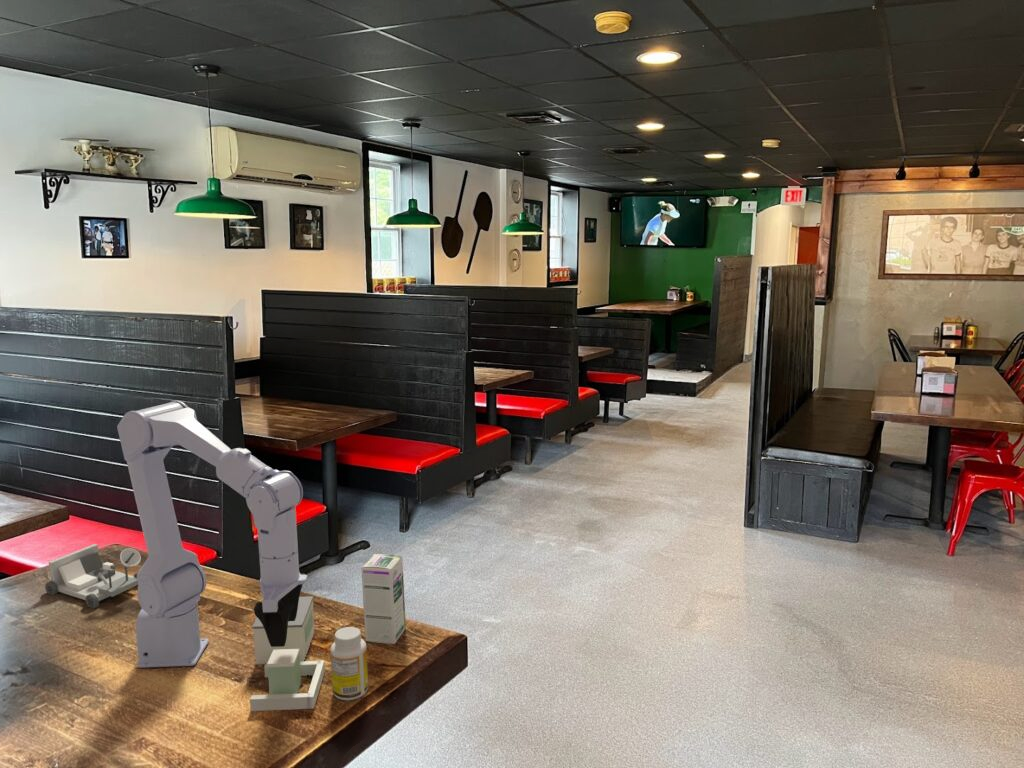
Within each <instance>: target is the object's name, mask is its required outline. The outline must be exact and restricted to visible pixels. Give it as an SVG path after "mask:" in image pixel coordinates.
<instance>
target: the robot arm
mask: <svg viewBox="0 0 1024 768" xmlns="http://www.w3.org/2000/svg"><path fill="white" fill-rule="evenodd" d="M196 414H197V413H196V411H195V409H193V408H191V407H189V406H188V405H187V404H186V403H185V402H183V401H182V400H176V399H175V400H172V401H169V402H167V403H163V404H160V405H155V406H151V407H146V408H141V409H138V410H130V411H127V412H126V413H125V414H124V415H123V416H122V418H121V420H120V421H119V423H118V424H117V426H116V427H117V432H118V433H117V434H118V436H119V443H120V444H121V445H120V446H121V450H122V454H123V458H124V461H126V464H127V470H128V473H129V477H130V482H131V487H132V491H133V495H134V499H135V503H136V508H137V511H138V512H137V513H138V517H139V519H140V520H139V521H140V525H141V529H142V534H143V537H144V541H145V547H146V552H147V555H148V557H147V558H146V560H145V561H144V563H142V566H141V567H140V569H139V570H138V572H136V573H137V579H138V585H137V593H136V594H137V600H138V603H139V606H140V607H141V609H140V611H139V612H138V615H137V617H136V621H135V639H136V647H137V656H138V657H137V658H138V663H136V664H137V666H136V667H137V668H140V669H141V668H163V667H164V668H169V667H170V668H171V667H191V666H196V664H197V662H198V661H199V659H200V657H201V656H202V654H203V652H204V651H205V649H206V647H207V646H208V644H209V642H210V639H208V638H201V633H200V632H201V631H200V621H199V620H200V619H199V618H200V617H199V609H198V602H199V601H201V594H202V593H203V592H205V590H206V587H207V577H206V573H205V571H204V569H203V568H202V566H201V564H200V562H199V559H198V554H196V553H195V552H193V551H191V550H188V549H185V548H184V547H183V546H184V545H183V541H182V538H181V537H182V536H181V533H180V530H179V525H178V520H177V516H176V512H175V507H174V503H173V498H172V495H171V494H172V493H171V489H170V485H169V480H168V477H167V476H168V475H167V473H166V468H165V464H164V459H165V457H167V455H168V454H169V452H170V451H171V449H172V448H173V447H175V446H181V447H182V448H184V449H186V450H187V451H188V452H191V453H192V454H193V455H196V456H197V457H199V458H200V459H202V460H203V461H205V462H207V463H209V464H210V465H212V466H213V467H215V473H216V477H217V478H218V479H219V480H220V481H222V482H223V483H224V484H225V485H227V486H228V487H230V488H231V489H232V490H234V491H235V492H237V493H238V494H239V495H240V496H241V497H243V498H245V501H246V505H247V508H248V509H249V511H250V513H251V514H252V517H253V524H254V525H255V528H256V530H257V542H258V557H259V569H260V570H259V571H260V572H259V573H260V579H259V587H260V591H261V595H262V601H261V602H256V603H255V605H254V607H253V613H254V615H255V616H256V618H257V617H258V619H259V620H260V621H261V623H262V625H263V627H264V629H265V632H266V635H267V638H268V641H269V643H270V646H271V647H281V646H285V643H286V638H287V629H288V621H295V619H296V615H297V610H298V603H299V597H301V596H300V595H301V591H302V589H303V585H305V584H306V583H307V581H308V575H307V574H306V573H304V572H300V566H299V565H300V564H299V546H298V530H297V529H298V528H297V511H296V510H297V509H296V507H297V506H298V505H299V504H301V502H302V500H303V496H304V489H303V485H302V483H301V481H300V480H299V478H298V477H297V476H296V475H295V474H294V473H293V472H292V471H290V470H285V469H284V470H278V469H276V468H275V469H273V468H272V467H270V466H269V465H267V464H265V463H264V462H262V461H261V460H260V459H258V458H257V457H256V456H254V455H252V451H250V450H249V449H248V448H242V447H237V448H236V447H235V448H232V449H231V447H229V446H228V445H227V444H225V443H224V442H223V441H222V440H221V439H219V438H218V437H217V436H216V435H215V434H213V433H212V432H211V431H210V430H209V429H208V428H206V426H204V425H203V424H202V423H200V422H199V420H198V417H197V415H196Z"/></svg>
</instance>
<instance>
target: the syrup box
mask: <svg viewBox="0 0 1024 768" xmlns="http://www.w3.org/2000/svg"><path fill="white" fill-rule="evenodd" d="M403 561H404V560H403V556H401V555H395V554H388V553H385V554H384V553H374V554H372V556H371V557H370V558H369V559H368V560H367V561H365V563H364V564H363V565H362V566H361V568H360V569H361V584H362V601H363V602H362V604H363V617H364V618H363V619H364V634H365V642H371V643H376V644H377V643H378V644H386V645H387V644H388V645H396V643H397V641H398V639H399V638H401V636H402V634H403V633H404V632H405V629H406V628H407V627H406V608H405V607H406V606H405V605H406V604H405V602H406V601H405V584H404V583H405V582H404V564H403Z"/></svg>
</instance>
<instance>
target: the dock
mask: <svg viewBox="0 0 1024 768" xmlns="http://www.w3.org/2000/svg"><path fill="white" fill-rule="evenodd" d="M263 668H264V678H268V667H267V663H266V664H264V666H263ZM300 673H301V677H303V676H304V677H305V676H306V677H308V676H307V675H309V677H311V676H312V679H311V682H310V685H309V689H308V691H307V692H306V693H305V692H304V693H299V692H298V693H297V694H276V695H270V694H256V695H255V694H254V695H250V698H249V706H250V711H251V712H262V711H263V712H264V711H265V712H267V711H268V712H269V711H286V710H287V711H288V710H289V711H290V710H306V709H307V710H309V709H312V710H313V709H315V706H316V703H317V699H318V696H319V692H320V689H321V686H322V683H323V679H324V676H325V673H326V667H325V660H310V661H309V660H305V661H302V662H300ZM310 675H311V676H310Z"/></svg>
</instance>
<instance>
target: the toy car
mask: <svg viewBox="0 0 1024 768" xmlns="http://www.w3.org/2000/svg"><path fill="white" fill-rule="evenodd" d="M99 553H100V552H99V545H98V544H97V543H93V544H91V545H88V546H86V547H84V548H81V549H78V550H76V551H73V552H71V553H68V554H66V555H62V556H60V557H58V558H55V559H53V560H49V561H48V567H49V575H50V580H49V581H48V582H47V581H46V583H45V591H46V593H47V594H49V595H52V596H56V595H57V594H59V593H61V594H65V595H68V596H71V597H75V598H77V599H80V600H83V601H85V604H86V606H87V608H93V609H97V608H98V607H99V605H100V601H103V600H104V599H107V598H110V597H111V598H112V597H113V598H114V597H115V596H117V595H119V594H121V593H123V592H126V591H127V590H130V589H132V588H134V587H136V586H138V579H137V573H138V572H136V573H134V574H133V575H130V574H128V567H129V568H130V567H135V566H137V565H138V564H140V563H141V560H142V558H141V557H142V556H141V554H140V552H139V551H138V550H137V549H134V548H131V547H130V548H124V549H123V550H122V551H120V555H119V559H120V562H121V565H122V566H124V573H123V572H120V571H118V570H117V571H116V570H115V569H116V566H115V563H112V562H108V561H106V562H104V561H103V560H102V559H101V557H100V554H99Z"/></svg>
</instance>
